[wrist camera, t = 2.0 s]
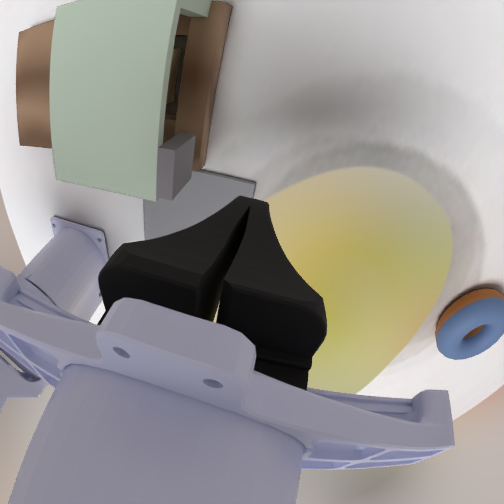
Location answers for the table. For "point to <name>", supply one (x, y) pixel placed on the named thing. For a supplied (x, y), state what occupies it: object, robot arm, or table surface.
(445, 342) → the doughnut
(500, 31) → the table surface
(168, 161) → the cover
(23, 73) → the board
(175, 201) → the mat
